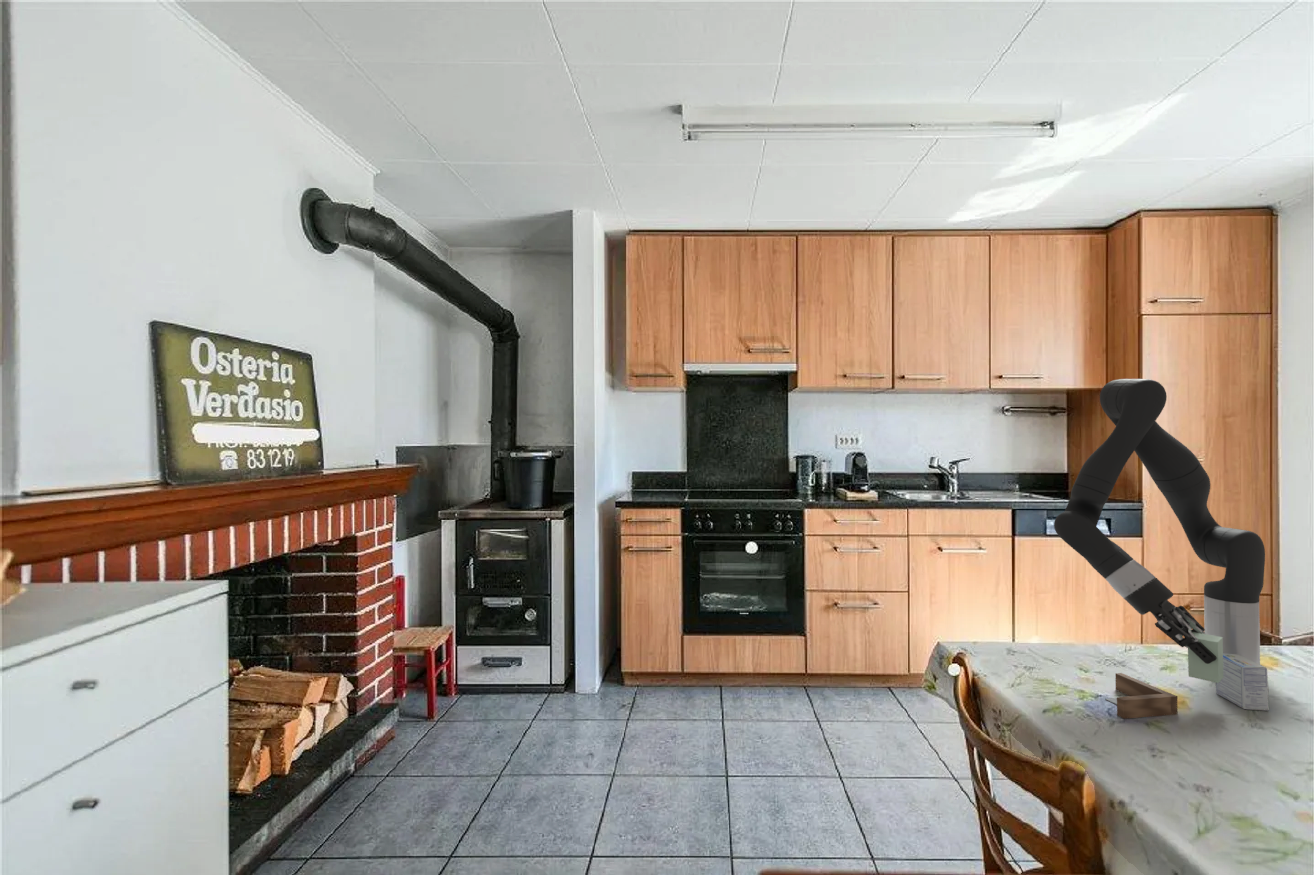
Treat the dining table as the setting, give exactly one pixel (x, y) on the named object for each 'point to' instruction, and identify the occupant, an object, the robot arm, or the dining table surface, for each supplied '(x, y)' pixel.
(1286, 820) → the dining table surface
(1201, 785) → the dining table surface
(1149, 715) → the walnut corner
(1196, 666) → the sage block
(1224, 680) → the medicine box
